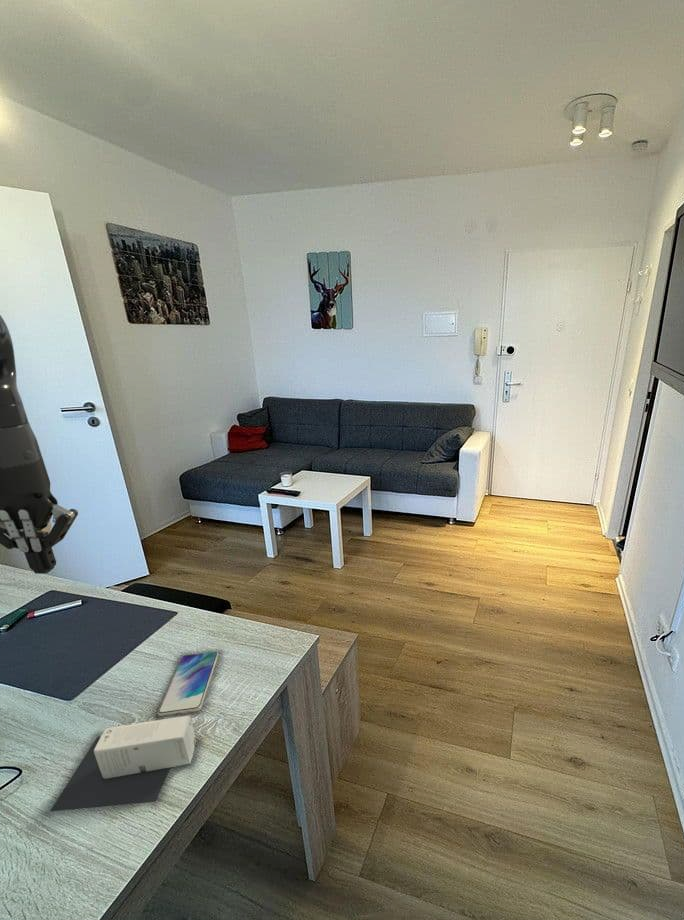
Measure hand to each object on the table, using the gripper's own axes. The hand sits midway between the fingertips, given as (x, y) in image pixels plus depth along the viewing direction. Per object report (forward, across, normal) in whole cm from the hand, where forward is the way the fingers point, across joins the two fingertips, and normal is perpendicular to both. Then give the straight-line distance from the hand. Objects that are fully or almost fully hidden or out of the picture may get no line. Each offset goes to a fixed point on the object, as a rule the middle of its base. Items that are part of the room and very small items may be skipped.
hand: (45, 570), depth 64 cm
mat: (+29, -10, +11) cm, 33 cm away
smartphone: (+29, -14, -6) cm, 33 cm away
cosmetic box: (+26, -8, +11) cm, 29 cm away
